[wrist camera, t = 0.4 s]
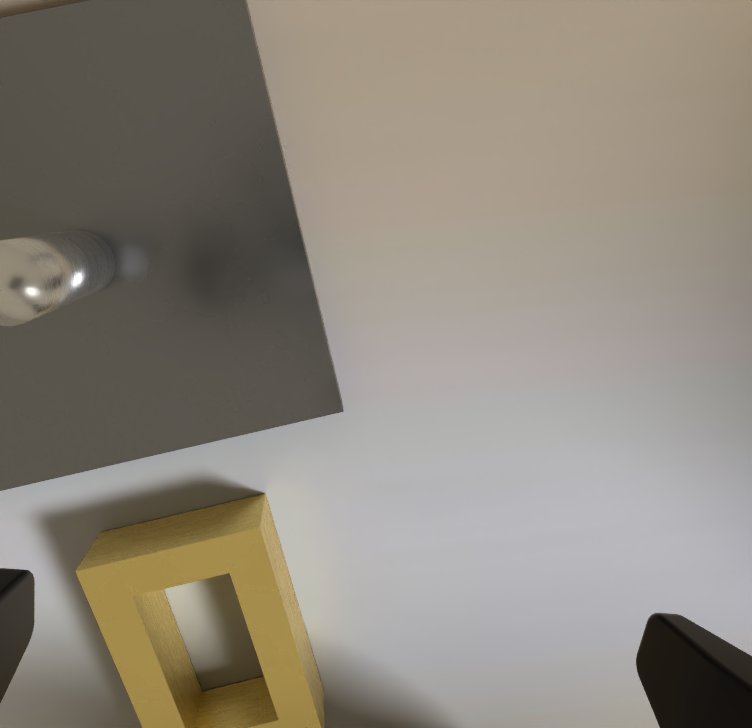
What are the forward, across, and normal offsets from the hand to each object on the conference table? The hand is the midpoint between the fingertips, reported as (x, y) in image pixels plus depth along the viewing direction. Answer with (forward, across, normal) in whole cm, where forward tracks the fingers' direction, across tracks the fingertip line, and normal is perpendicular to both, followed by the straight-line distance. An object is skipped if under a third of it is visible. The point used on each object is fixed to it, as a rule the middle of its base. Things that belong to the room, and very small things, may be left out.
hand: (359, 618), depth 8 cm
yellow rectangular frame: (+14, +3, +11) cm, 18 cm away
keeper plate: (+13, +8, -3) cm, 16 cm away
